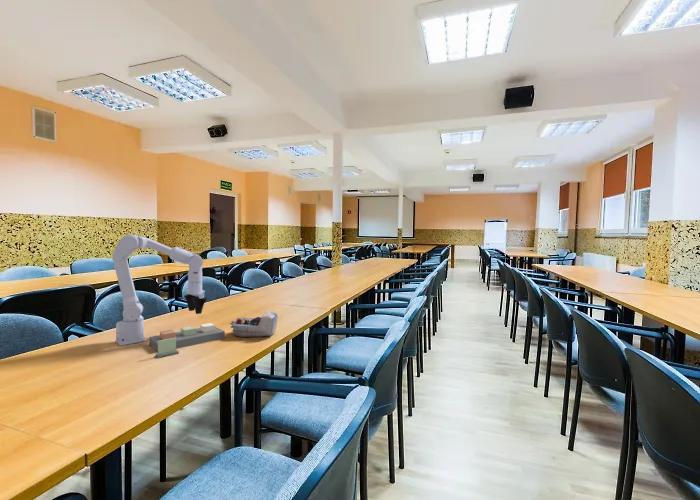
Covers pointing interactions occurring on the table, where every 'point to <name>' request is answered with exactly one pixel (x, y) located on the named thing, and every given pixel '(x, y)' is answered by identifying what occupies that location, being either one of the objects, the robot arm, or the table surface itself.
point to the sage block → (188, 331)
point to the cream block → (207, 328)
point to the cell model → (255, 325)
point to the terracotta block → (167, 334)
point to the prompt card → (166, 348)
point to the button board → (190, 338)
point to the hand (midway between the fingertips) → (195, 312)
